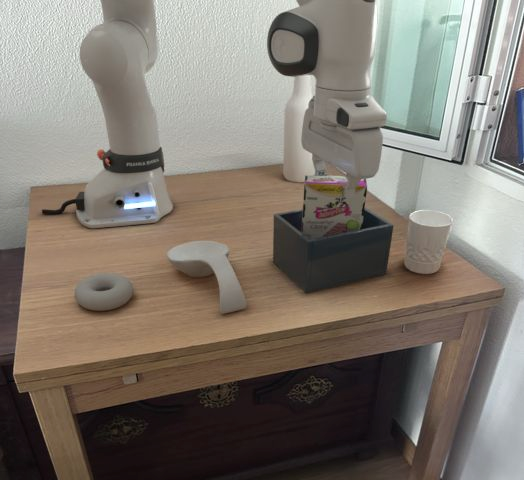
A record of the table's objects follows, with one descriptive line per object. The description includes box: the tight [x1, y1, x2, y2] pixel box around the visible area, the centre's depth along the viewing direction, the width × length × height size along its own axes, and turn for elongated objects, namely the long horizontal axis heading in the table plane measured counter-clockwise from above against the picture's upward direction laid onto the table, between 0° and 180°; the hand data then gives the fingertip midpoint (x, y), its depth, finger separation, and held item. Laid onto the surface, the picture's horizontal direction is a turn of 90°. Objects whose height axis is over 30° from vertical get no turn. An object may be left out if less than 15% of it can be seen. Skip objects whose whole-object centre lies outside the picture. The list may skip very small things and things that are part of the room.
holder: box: [272, 207, 395, 294], centre depth 103 cm, size 18×14×10 cm
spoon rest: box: [166, 240, 247, 315], centre depth 99 cm, size 24×12×7 cm, turn 26°
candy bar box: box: [301, 175, 368, 240], centre depth 100 cm, size 11×5×16 cm, turn 85°
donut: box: [74, 272, 134, 312], centre depth 95 cm, size 10×4×10 cm
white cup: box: [403, 209, 454, 275], centre depth 103 cm, size 8×8×10 cm
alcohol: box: [282, 75, 315, 183], centre depth 140 cm, size 9×9×30 cm
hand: (333, 188), depth 96 cm, fingers open, 8 cm apart
